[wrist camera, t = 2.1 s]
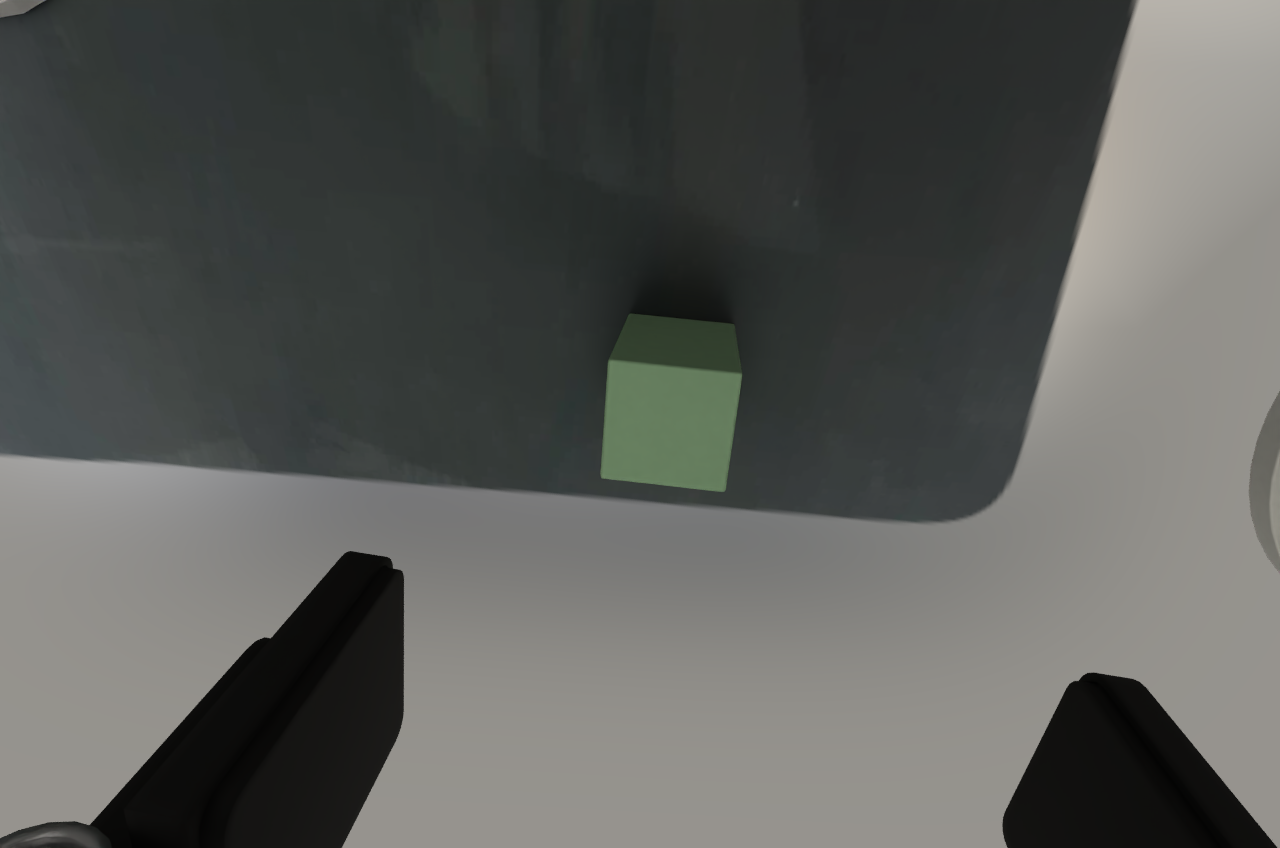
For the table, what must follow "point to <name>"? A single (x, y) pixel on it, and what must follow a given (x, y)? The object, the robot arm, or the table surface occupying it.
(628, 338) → the green block
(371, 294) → the table surface
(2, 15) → the mechanical component
